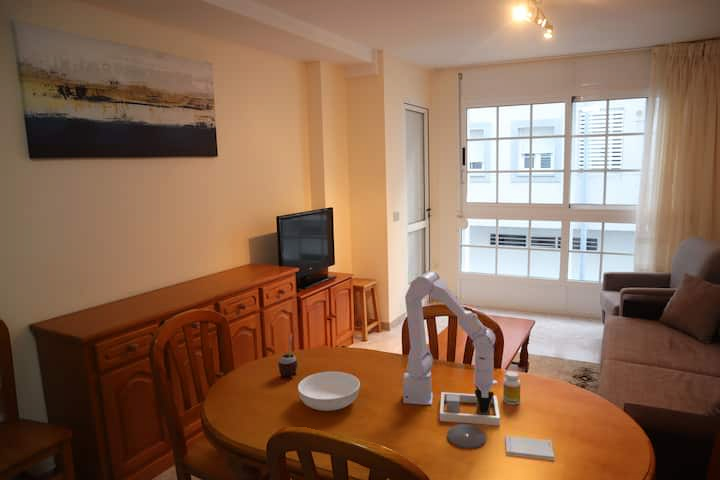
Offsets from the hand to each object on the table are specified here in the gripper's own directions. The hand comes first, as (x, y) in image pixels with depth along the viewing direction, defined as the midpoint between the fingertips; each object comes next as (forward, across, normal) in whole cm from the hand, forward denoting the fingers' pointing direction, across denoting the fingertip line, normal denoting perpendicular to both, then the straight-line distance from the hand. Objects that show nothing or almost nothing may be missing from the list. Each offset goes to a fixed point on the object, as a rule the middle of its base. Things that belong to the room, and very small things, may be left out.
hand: (483, 408), depth 156 cm
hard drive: (+2, -18, -12) cm, 21 cm away
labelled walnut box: (+2, 0, 0) cm, 2 cm away
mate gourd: (+2, +17, +72) cm, 74 cm away
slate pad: (+2, -15, +6) cm, 16 cm away
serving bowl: (+2, -1, +50) cm, 51 cm away
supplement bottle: (+2, +9, -10) cm, 13 cm away
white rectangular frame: (+2, 0, +4) cm, 5 cm away
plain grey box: (+2, -2, +10) cm, 10 cm away
